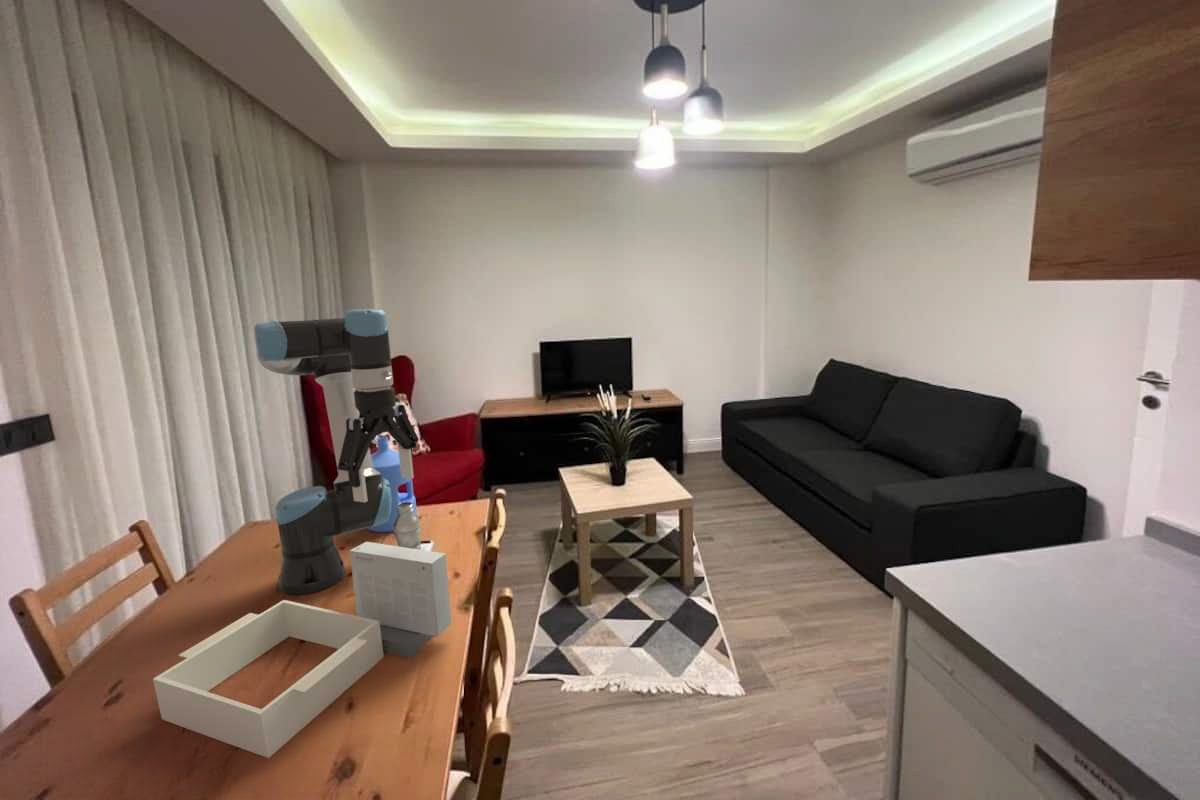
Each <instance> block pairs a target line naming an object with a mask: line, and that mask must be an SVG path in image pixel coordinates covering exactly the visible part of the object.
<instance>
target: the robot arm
mask: <svg viewBox="0 0 1200 800" xmlns="http://www.w3.org/2000/svg"><path fill="white" fill-rule="evenodd" d="M389 329H390V327H389V324H388V319H387V315H386V311H384V310H383V309H381V308H361V309H360V308H359V309H357V308H356V309H350V310H346V311H345V313H344V317H340V318H339V317H337V318H323V319H320V318H319V319H311V320H309V319H308V320H305V319H304V320H289V321H288V320H285V321H284V320H283V321H276V320H271V321H269V322H259V323H256V324H255V325H254V327H253V331H254V341H255V346H256V355H257V356H256V357H257V358H258V361H259V363H260V364H261V365H262V366H263V367H264V368H265V369H267V370H268V371H270V372H272V373H273V372H274V373H277V374H281V375H287V376H309V375H313V376H314V381H315V382H316V383H317V384H318V385H320V386H321V387H322V389H323V394H324V395H323V396H324V399H325V400H324V401H325V406H326V412H327V417H328V421H329V428H330V434H331V439H332V446H333V452H334V456H335V463H336V467H337V473H338V474H337V477H336V478H335V480H334V481H333V488H334V489H332V490H327V489H326V487H324V486H322V485H316V486H309V487H305V488H300V489H298V490H295V491H292V492H289V493H288V494H287V495H285V496H283V497H282V498H280V499H279V500H278V502H277V503H276V505H275V515H276V516H275V517H276V519H275V523H276V525H277V528H278V535H279V540H280V549H281V555H282V561H281V566H280V572H279V575H278V578H277V579H278V580H277V582H278V586H279V588H278V589H279V591H280V592H282V593H283V594H284V595H291V596H295V595H296V596H301V595H308V594H309V595H310V594H312V593H316V592H320V591H322V590H325V589H327V588H329V587H332V586H333V585H336V584H337V583H338V582H340V581H341V580H342V579H343V578H344V577H345V574H346V568H345V563H344V560H343V559H342V557H341V556H340V554H339V552H338V549H336V546H335V542H334V537H338V536H340V535H341V536H342V535H345V534H348V533H352V532H357V531H361V530H365V529H368V528H369V527H370V528H372V527H373V526H376V525H380V524H383V523H385V522H387V521H388V519H389V517H390V514H391V490H390V486H389V482H388V480H386V479H381V474H380V473H379V472H378V471H376V470H375V469H374V468H373V464H372V459H371V455H372V453H371V448H370V446H371V443H372V442H373V441H374V440H375V439H376V437H377V436H380V435H381V434H383V433H387V434H389V435H390V436H391V437H392V439H393V440H394V441H396V443H397V444H398V445H399V446H400V447H399V448H398V452H399V460H400V469H401V477H402V478H410V479H412V480H413V479H414V477H415V476H414V468H413V467H414V466H413V462H414V455H413V454H414V453H413V449H416V448H417V443H419V437H418V435H417V433H416V431H415V428H414V427H413V425H412V424H411V421H410V420H409V417H408V415H407V411H406V407H405V405H404V404H397V403H396V394H395V393H396V392H395V388H394V387H393V384H394V376H393V369H392V357H391V348H390V347H391V346H390V339H389V337H390V335H389Z"/></svg>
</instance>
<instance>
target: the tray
mask: <svg viewBox="0 0 1200 800" xmlns="http://www.w3.org/2000/svg"><path fill="white" fill-rule="evenodd" d="M289 637H290V638H295V639H299V640H302V641H305V642H306V641H307V642H311V643H314V644H319V645H322V646H327V647H329V648H333V649H337V650H336V651H334V652H333V653H331V654H330V656H328V657H327V658H326V659H324V660H323V661H321V662H320V663H319V664H317V666H315V667H314V668H313V669H312V670H310V671H309V672H308V673H306V674H305V675H303V676H302V677H301V678H299V680H297V681H296V682H294V683H293V684H292V685H291V686H290V687H289V688H287V689H286V690H285V691H283V692H282V693H281V694H279V695H277V696H276V697H275V698H274V699H273V700H271V701H270V702H269V703H268V704H266V705H265V706H264V707H263V708H259V707H256V706H252V705H251V704H250V705H249V704H246V703H243V702H241V701H237V700H234V699H231V698H228V697H225V696H222V695H219V694H216V693H212V692H209V691H211V690H212V689H213V688H215V687H216V686H218V685H219V684H221V683H222V682H224V681H226V680H227V679H228V678H230V677H231V676H233V675H235V674H236V673H237V672H238V671H240V670H242V669H243V668H244V667H246V666H247V665H249V664H250V663H252V662H254V661H256V659H257V658H259V657H261V656H262V655H264V654H265V653H266V652H268V651H269V650H271V649H273V648H274V647H276V645H279V644H280V643H281V642H283V641H284V640H285V639H287V638H289ZM178 657H180V658H183V660H182V661H179V663H177V664H174V665H173V666H172V667H170V668H169V669H167V670H165V671H163V672H162V673H160V674H159V675H157V676H155V677H153V679H152V682H153V686H154V691H155V695H156V700H157V704H158V707H159V708H158V709H159V712H160V716H161V720H162V721H166V722H167V723H171V724H174V725H176V726H179V727H182V728H185V729H187V730H190V731H193V732H196V733H198V734H201V735H204V736H206V737H209V738H212V739H214V740H215V739H216V740H218V741H220V742H223V743H226V744H228V745H231V746H233V747H237V748H240V749H242V750H245V751H248V752H251V753H253V754H256V755H259V756H262V757H264V758H267V759H269V758H271V757H272V756H273V755H274V754H275V753H277V751H279V750H280V748H282V747H283V746H284V745H286V744H287V743H288V742H289V741H290V740H291V739H292V738H294V736H296V735H297V734H298V733H299V732H300V731H301V730H303V729H304V728H305V727H306V726H307V725H308V724H309V723H311V721H313V720H314V719H315V718H317V716H318V715H319V714H321V713H322V712H323V711H324V710H326V709H327V708H328V707H329V706H330V705H331V704H332V703H333V702H335V700H336V699H338V698H339V697H340V696H341V695H343V693H345V692H346V691H347V690H348V689H349V688H350V687H351V686H353V685H354V684H355V683H356V682H357V681H359V679H361V678H362V677H363V676H364V675H365V674H367V672H369V670H371V669H372V668H374V666H375V665H376V664H378V663H379V662H380V661H381V660H382V659H384V657H385V655H384V652H383V647H382V639H381V631H380V623H379V621H377V620H373V619H368V618H364V617H359V616H357V615H354V614H350V613H345V612H340V611H336V610H331V609H329V608H328V609H326V608H322V607H318V606H313V605H309V604H304V603H301V602H296V601H291V600H286V599H283V600H281V601H279V602H278V603H276V604H274V605H272V606H271V607H269V608H268V609H266V610H264V611H263V612H261V613H260V614H258V613H252V612H249V613H247V614H245V615H244V616H242V617H240V618H239V619H237V620H235V621H233V622H232V623H230V624H229V625H227V626H225V627H223V628H222V629H221V630H219V631H217V632H215V633H213V634H212V635H210V636H208V637H207V638H205V639H203V640H201V641H200V642H198V643H197V644H195V645H193V646H191V647H190V648H188V649H187V650H185V651H183V652H181V653H179V654H178ZM353 683H354V684H353ZM345 690H346V691H345ZM344 691H345V692H344Z"/></svg>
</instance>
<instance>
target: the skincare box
mask: <svg viewBox="0 0 1200 800" xmlns="http://www.w3.org/2000/svg"><path fill="white" fill-rule="evenodd" d="M349 555H350V564H351V575H352V576H351V577H352V585H353V587H352V588H353V593H354V603H355V612H356V616H359V617H364V618H368V619H373V620H377V621H379V623H380V625H385V626H390V627H394V628H399V629H404V630H409V631H413V632H418V633H422V634H427V635H432V637H439V636H441V634H442V633H443V632H444V631H445V630H447V629H448V628H449V627H450V626H451V625H452V614H451V603H450V591H449V579H448V577H449V576H448V568H447V567H448V566H447V565H448V564H447V553H444V552H436V551H430V550H425V549H421V550H419V549H412V548H405V547H398V545H390V544H385V543H378V542H371V541H365V542H363V543H361V544H360V545H357V546H356V547H353V548H351V549H350V550H349Z"/></svg>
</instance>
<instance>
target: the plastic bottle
mask: <svg viewBox="0 0 1200 800" xmlns="http://www.w3.org/2000/svg"><path fill="white" fill-rule="evenodd" d="M413 511H414V509H413V504H412V502H403V503H400V504H398V505H397V514H399V515H398V517H397V518H396V520H395V522H394V525H393V529H394V531H393V534H394V536H395V540H396V546H398V547H405V548H412V549H419V550H422V547H421V545H422V544H421V520H420V518H419V516H418V517H417V516H416V515H415V514H414V513H413Z"/></svg>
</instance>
